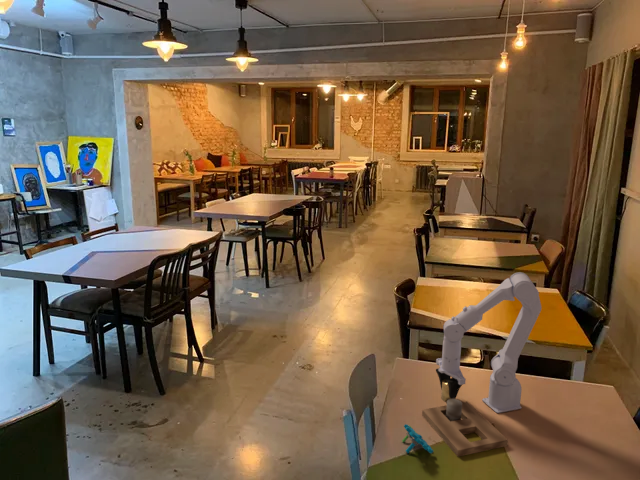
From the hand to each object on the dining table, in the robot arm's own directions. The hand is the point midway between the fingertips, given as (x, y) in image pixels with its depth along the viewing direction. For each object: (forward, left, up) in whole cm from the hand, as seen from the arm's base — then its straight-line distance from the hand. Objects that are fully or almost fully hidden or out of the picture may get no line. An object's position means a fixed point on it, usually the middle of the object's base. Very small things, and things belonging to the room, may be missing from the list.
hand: (448, 393), depth 156 cm
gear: (+22, +20, -2) cm, 30 cm away
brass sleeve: (0, 0, -2) cm, 2 cm away
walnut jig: (+5, +16, -2) cm, 17 cm away
